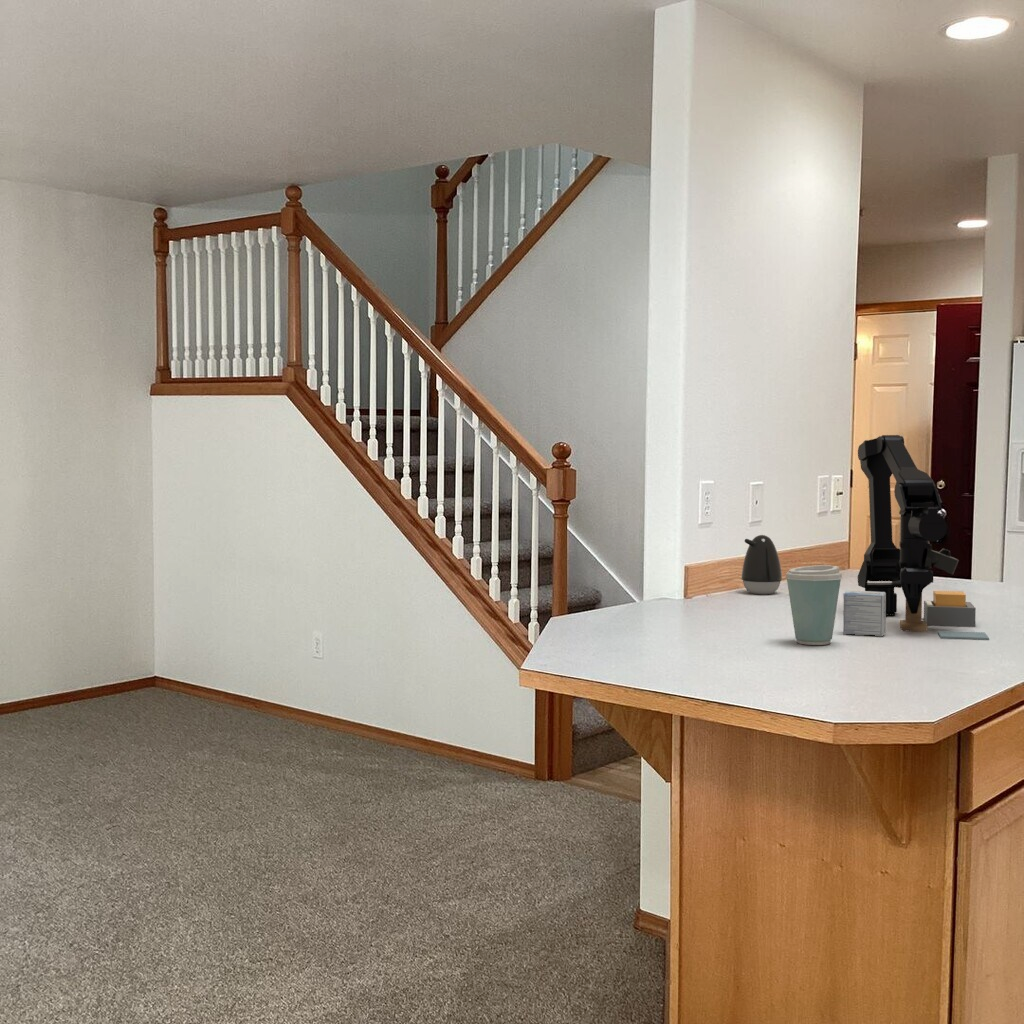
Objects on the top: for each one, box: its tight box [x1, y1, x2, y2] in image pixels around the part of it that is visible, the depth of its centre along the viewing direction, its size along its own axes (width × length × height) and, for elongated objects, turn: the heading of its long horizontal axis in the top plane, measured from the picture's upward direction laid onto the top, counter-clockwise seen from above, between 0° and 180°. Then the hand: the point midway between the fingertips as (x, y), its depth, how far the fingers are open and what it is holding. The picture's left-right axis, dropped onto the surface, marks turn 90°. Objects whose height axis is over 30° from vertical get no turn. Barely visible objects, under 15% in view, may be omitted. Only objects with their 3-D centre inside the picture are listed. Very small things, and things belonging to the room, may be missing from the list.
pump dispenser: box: [741, 534, 783, 596], centre depth 302 cm, size 10×10×15 cm
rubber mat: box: [937, 630, 990, 641], centre depth 235 cm, size 9×7×1 cm
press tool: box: [899, 594, 928, 633], centre depth 244 cm, size 5×5×8 cm
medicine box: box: [842, 590, 887, 637], centre depth 238 cm, size 8×4×9 cm, turn 65°
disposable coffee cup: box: [785, 564, 843, 646], centre depth 228 cm, size 11×11×15 cm
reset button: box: [932, 590, 967, 607], centre depth 252 cm, size 6×6×3 cm
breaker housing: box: [923, 600, 977, 628], centre depth 252 cm, size 10×10×4 cm
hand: (913, 612), depth 244 cm, fingers closed on press tool, 3 cm apart
